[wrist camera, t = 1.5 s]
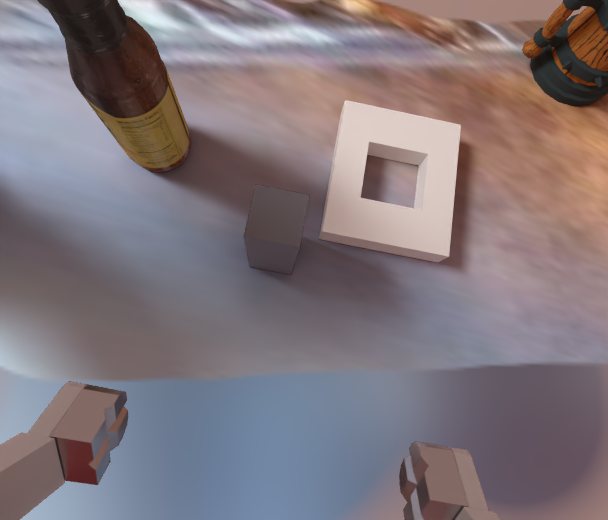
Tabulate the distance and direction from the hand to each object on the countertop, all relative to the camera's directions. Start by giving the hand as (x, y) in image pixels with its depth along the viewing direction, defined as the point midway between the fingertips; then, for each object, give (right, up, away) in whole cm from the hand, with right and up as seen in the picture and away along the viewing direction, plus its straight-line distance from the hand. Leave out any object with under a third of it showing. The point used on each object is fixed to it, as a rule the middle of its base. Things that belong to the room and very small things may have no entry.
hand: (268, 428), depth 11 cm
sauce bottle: (-13, +16, +28) cm, 35 cm away
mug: (+31, +27, +35) cm, 54 cm away
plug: (-2, +6, +27) cm, 27 cm away
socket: (+10, +12, +29) cm, 33 cm away
